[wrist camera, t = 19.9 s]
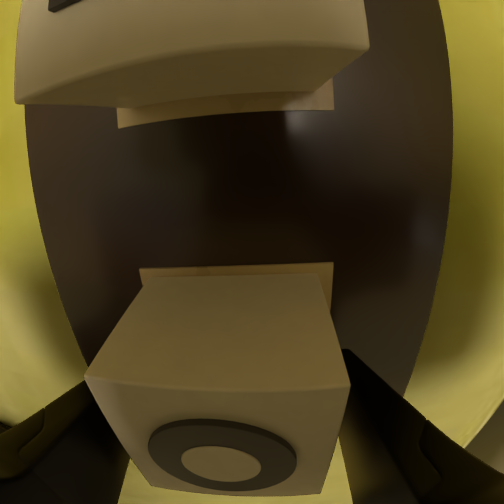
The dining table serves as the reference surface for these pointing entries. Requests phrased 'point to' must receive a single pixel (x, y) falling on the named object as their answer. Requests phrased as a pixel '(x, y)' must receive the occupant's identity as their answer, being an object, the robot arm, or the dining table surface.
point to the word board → (264, 191)
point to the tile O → (226, 384)
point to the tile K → (180, 48)
